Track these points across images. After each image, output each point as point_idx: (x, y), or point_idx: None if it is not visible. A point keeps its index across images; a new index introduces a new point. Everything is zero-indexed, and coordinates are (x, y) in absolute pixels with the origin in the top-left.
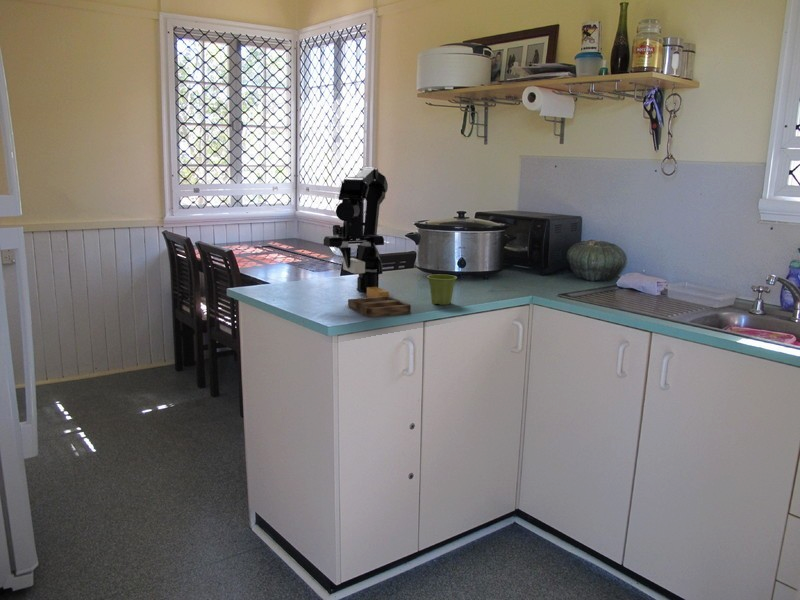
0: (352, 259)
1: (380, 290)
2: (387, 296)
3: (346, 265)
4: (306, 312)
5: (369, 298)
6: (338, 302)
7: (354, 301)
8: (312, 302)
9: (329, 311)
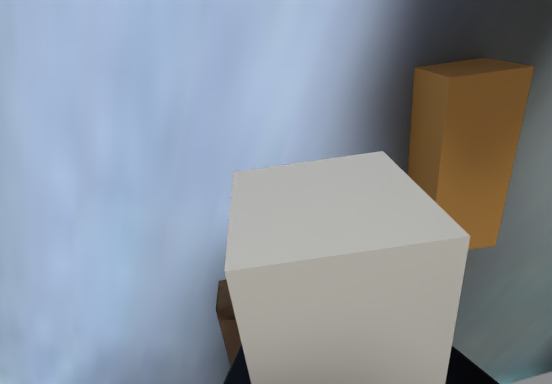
0: (364, 381)
1: (472, 205)
2: None
3: (235, 361)
4: (7, 335)
5: None
6: (191, 178)
7: (234, 351)
8: (24, 143)
9: (117, 334)
